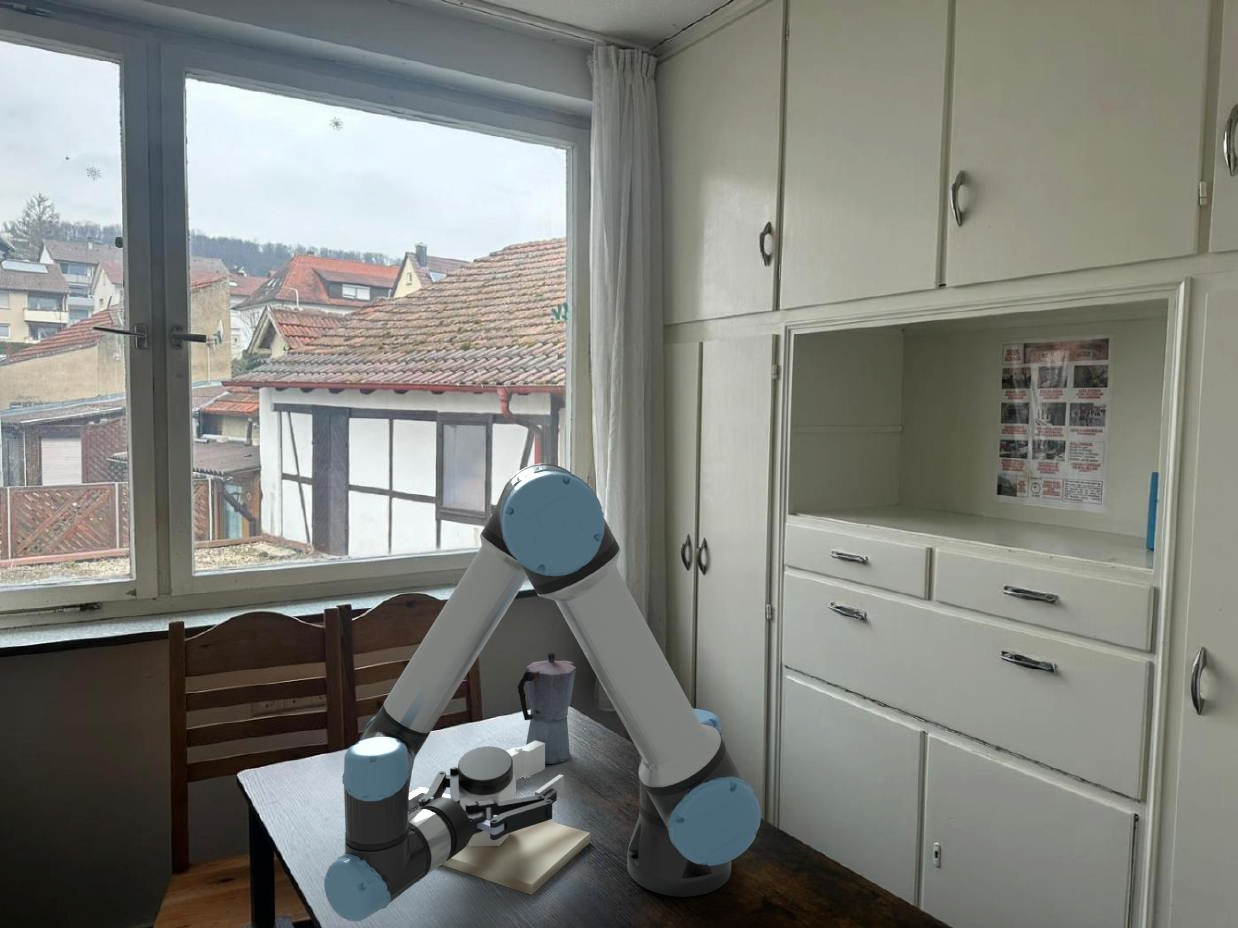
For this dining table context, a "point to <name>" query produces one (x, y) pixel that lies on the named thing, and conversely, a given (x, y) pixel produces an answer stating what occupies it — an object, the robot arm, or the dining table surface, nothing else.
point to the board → (523, 856)
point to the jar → (486, 783)
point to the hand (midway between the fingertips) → (524, 773)
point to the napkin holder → (528, 759)
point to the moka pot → (548, 705)
